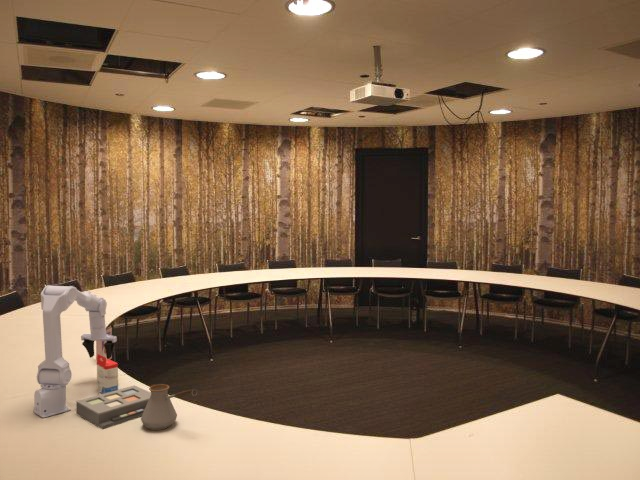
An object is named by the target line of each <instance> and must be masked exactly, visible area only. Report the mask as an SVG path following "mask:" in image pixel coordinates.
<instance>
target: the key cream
mask: <svg viewBox="0 0 640 480" xmlns="http://www.w3.org/2000/svg"><path fill="white" fill-rule="evenodd" d="M120 404H121V403H119V402H117V401H116V402H112V403H109V404H106V405H108V406H110V407H113V406H116V405H120Z"/></svg>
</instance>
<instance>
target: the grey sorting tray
mask: <svg viewBox="0 0 640 480" xmlns="http://www.w3.org/2000/svg"><path fill="white" fill-rule="evenodd" d="M130 390H134V391H136V393H132V394H129V395H127V394H124V393H123V392H126V391H130ZM112 395H118V396H122V397H118V398H115V399H111V400H110V399H108V398H106V397H108V396H112ZM132 396H135V397H136V398H138V399H137V400H133V401H130V402H128V401H126V400H124V399H125V398H129V397H132ZM150 396H151V391H149V390H145V389H144V388H142V387H139V386H137V385H135V384H134V385H131V386H126V387H123V388H120V389H119V388H118V390H116V391H112V392H108V393H104V394H103V393H100V394H98V395H93V396H90V397H86V398H83V399H79V400H76V406H75V407H76V409H75V410H76V411H75V412H76V414H75V415H78V416H80V417H81V418H84V419H85V420H87V421H88V422H90V423H92V424H93V425H95V426H97V427H99V428H100V429H102V430H103V429H107V428H111V427H113V426H116V425H119V424H123V423H125V422H130V421H132V420H134V419H138V418H141V417H142V414H143V412H144V410H145V408H146V405H147V403H148V401H149V398H150ZM97 399H99V400H101V401H103V402H100V403H97V404H93V405H91V404H90V403H88V402H90V401H94V400H97ZM115 401H118V402H119V403H121V404H120V405H116V406H113V407H110V406H108V405H106V404H108V403H111V402H115ZM122 403H123V404H122Z"/></svg>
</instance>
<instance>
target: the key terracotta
mask: <svg viewBox="0 0 640 480" xmlns="http://www.w3.org/2000/svg"><path fill="white" fill-rule="evenodd" d="M137 399H138V398H136V397H134V396H133V397H130V398H126V399H124V400H126V401H128V402H130V401H133V400H137ZM122 404H123V403H122Z"/></svg>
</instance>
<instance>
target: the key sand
mask: <svg viewBox="0 0 640 480" xmlns="http://www.w3.org/2000/svg"><path fill="white" fill-rule="evenodd" d="M118 397H121V396H118V395H112V396H108V397H106V398H108V399H110V400H111V399H115V398H118ZM115 402H116V401H115ZM117 402H118V401H117ZM111 403H112V402H111ZM108 404H109V403H108Z"/></svg>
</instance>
